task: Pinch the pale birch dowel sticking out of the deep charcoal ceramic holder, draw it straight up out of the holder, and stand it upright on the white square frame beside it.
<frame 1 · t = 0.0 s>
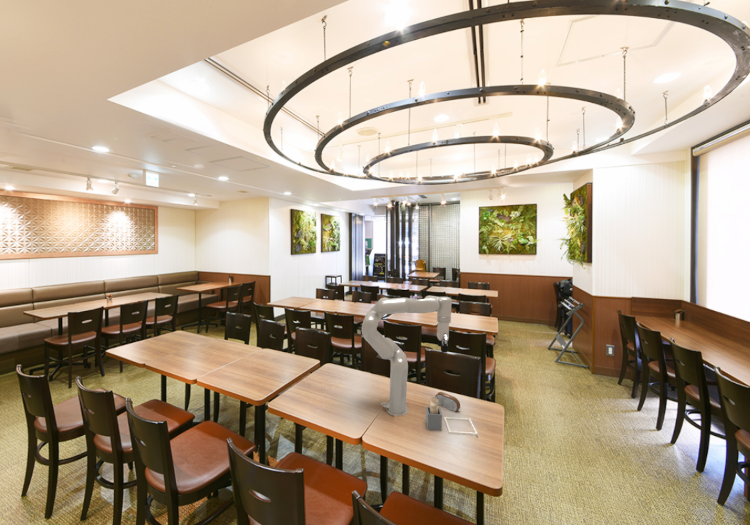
hand: (442, 349, 160), 37 cm above the table, tool pointing down, fingers open, 9 cm apart
tin: (446, 409, 166), on the table
white square frame: (459, 428, 148), on the table
holder: (433, 427, 148), on the table
dowel: (433, 425, 148), point 1 cm above the table, touching holder
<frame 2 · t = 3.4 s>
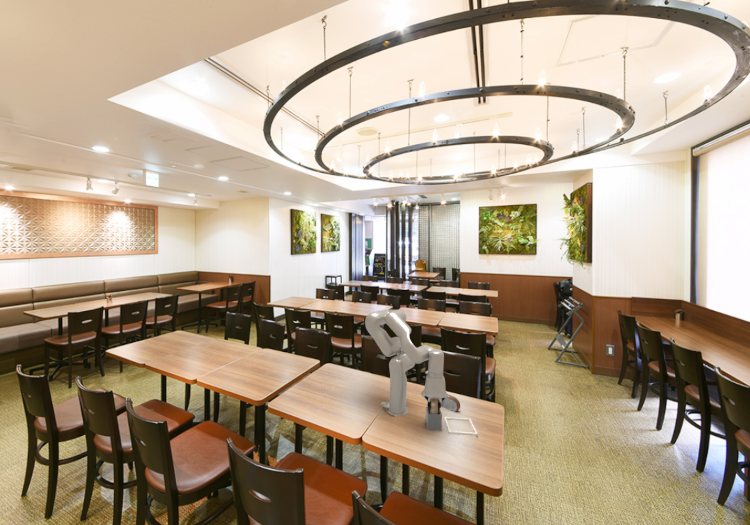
hand: (434, 408, 147), 10 cm above the table, tool pointing down, fingers closed on dowel, 4 cm apart
dowel: (433, 425, 148), point 1 cm above the table, touching gripper, holder
everything else where it was.
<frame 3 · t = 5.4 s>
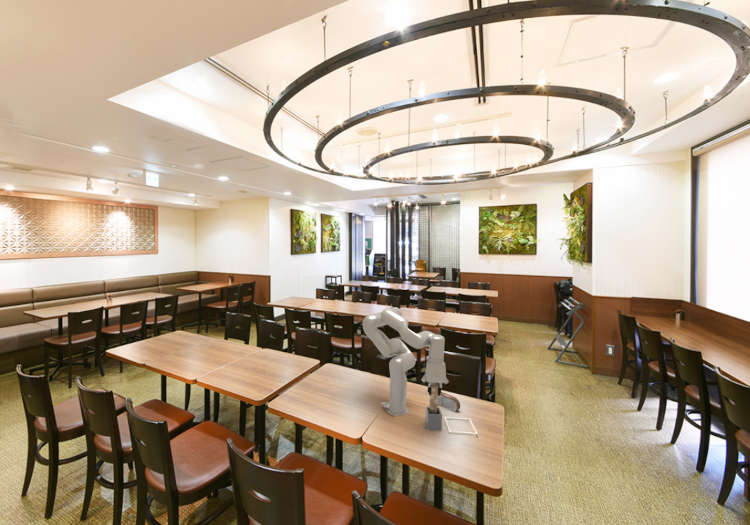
hand: (434, 393, 147), 18 cm above the table, tool pointing down, fingers closed on dowel, 4 cm apart
dowel: (433, 411, 148), point 9 cm above the table, touching gripper
everything else where it was.
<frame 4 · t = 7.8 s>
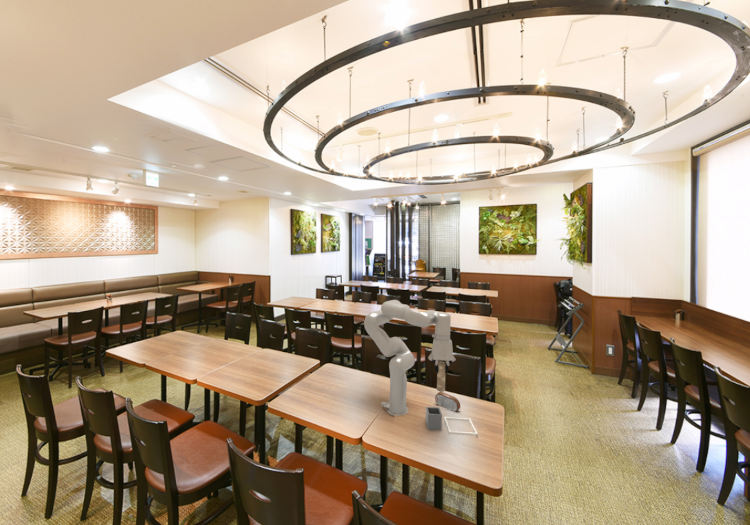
hand: (441, 372, 146), 30 cm above the table, tool pointing down, fingers closed on dowel, 4 cm apart
dowel: (440, 389, 147), point 20 cm above the table, touching gripper
everything else where it was.
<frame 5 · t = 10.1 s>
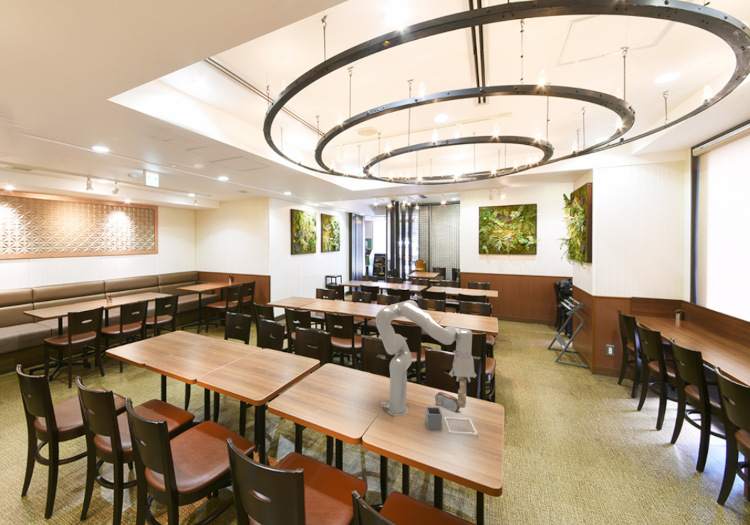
hand: (462, 388, 147), 21 cm above the table, tool pointing down, fingers closed on dowel, 4 cm apart
dowel: (461, 405, 147), point 12 cm above the table, touching gripper
everything else where it was.
when the fingers open (12 cm above the table, at t = 12.1 s): dowel drops 2 cm, resting on white square frame.
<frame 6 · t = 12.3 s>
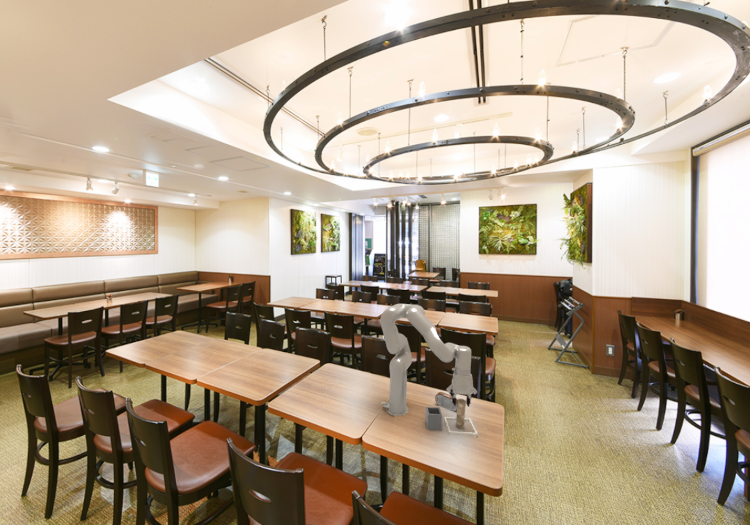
hand: (461, 404, 148), 13 cm above the table, tool pointing down, fingers open, 6 cm apart
dowel: (459, 426, 148), point 1 cm above the table, touching white square frame
everything else where it was.
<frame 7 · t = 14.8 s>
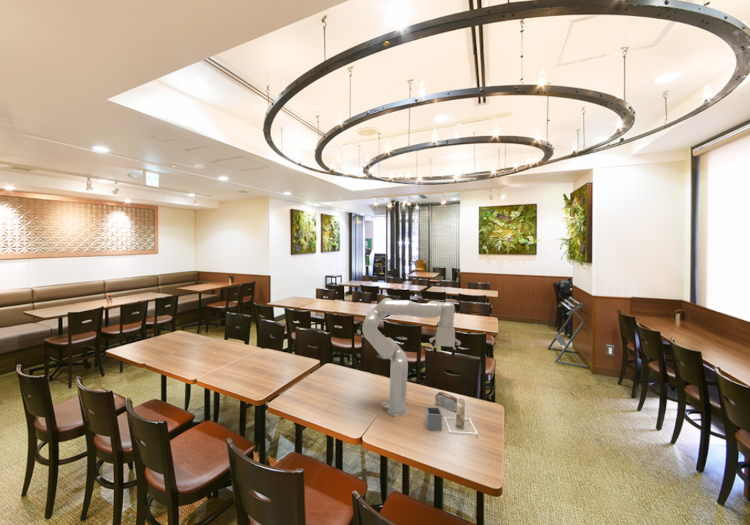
hand: (443, 355, 159), 34 cm above the table, tool pointing down, fingers open, 9 cm apart
nothing on the table moved.
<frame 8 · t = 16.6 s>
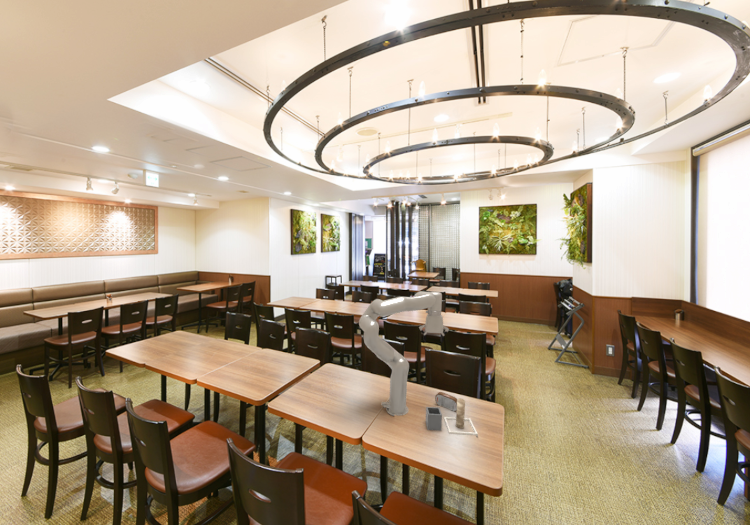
hand: (433, 341, 168), 38 cm above the table, tool pointing down, fingers open, 9 cm apart
nothing on the table moved.
at the end: dowel inside the target area on the white square frame (0.1 cm from its centre), point 0.8 cm above the white square frame's base; dowel tilted 0°; the gripper is holding nothing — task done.
